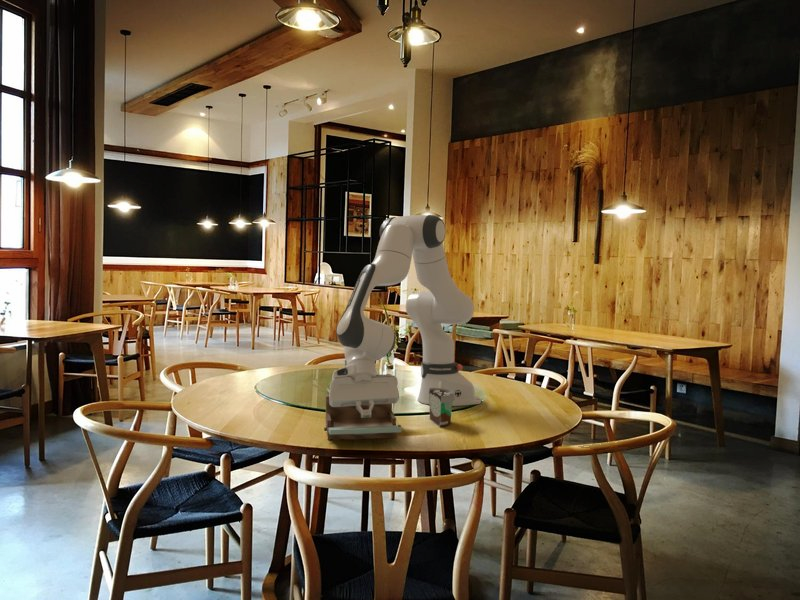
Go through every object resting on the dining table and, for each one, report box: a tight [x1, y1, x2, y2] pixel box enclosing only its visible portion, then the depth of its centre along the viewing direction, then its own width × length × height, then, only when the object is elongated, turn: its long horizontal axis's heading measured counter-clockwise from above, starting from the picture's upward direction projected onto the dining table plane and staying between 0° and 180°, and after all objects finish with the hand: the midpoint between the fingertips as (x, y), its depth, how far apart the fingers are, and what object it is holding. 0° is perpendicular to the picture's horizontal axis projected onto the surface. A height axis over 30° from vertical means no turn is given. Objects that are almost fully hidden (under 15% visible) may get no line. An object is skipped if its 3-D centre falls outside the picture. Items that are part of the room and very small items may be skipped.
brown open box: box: [323, 393, 402, 440], centre depth 194 cm, size 22×14×10 cm, turn 99°
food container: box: [429, 388, 455, 428], centre depth 206 cm, size 12×6×10 cm, turn 17°
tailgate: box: [329, 425, 403, 435], centre depth 183 cm, size 20×2×9 cm
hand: (366, 416), depth 185 cm, fingers closed
